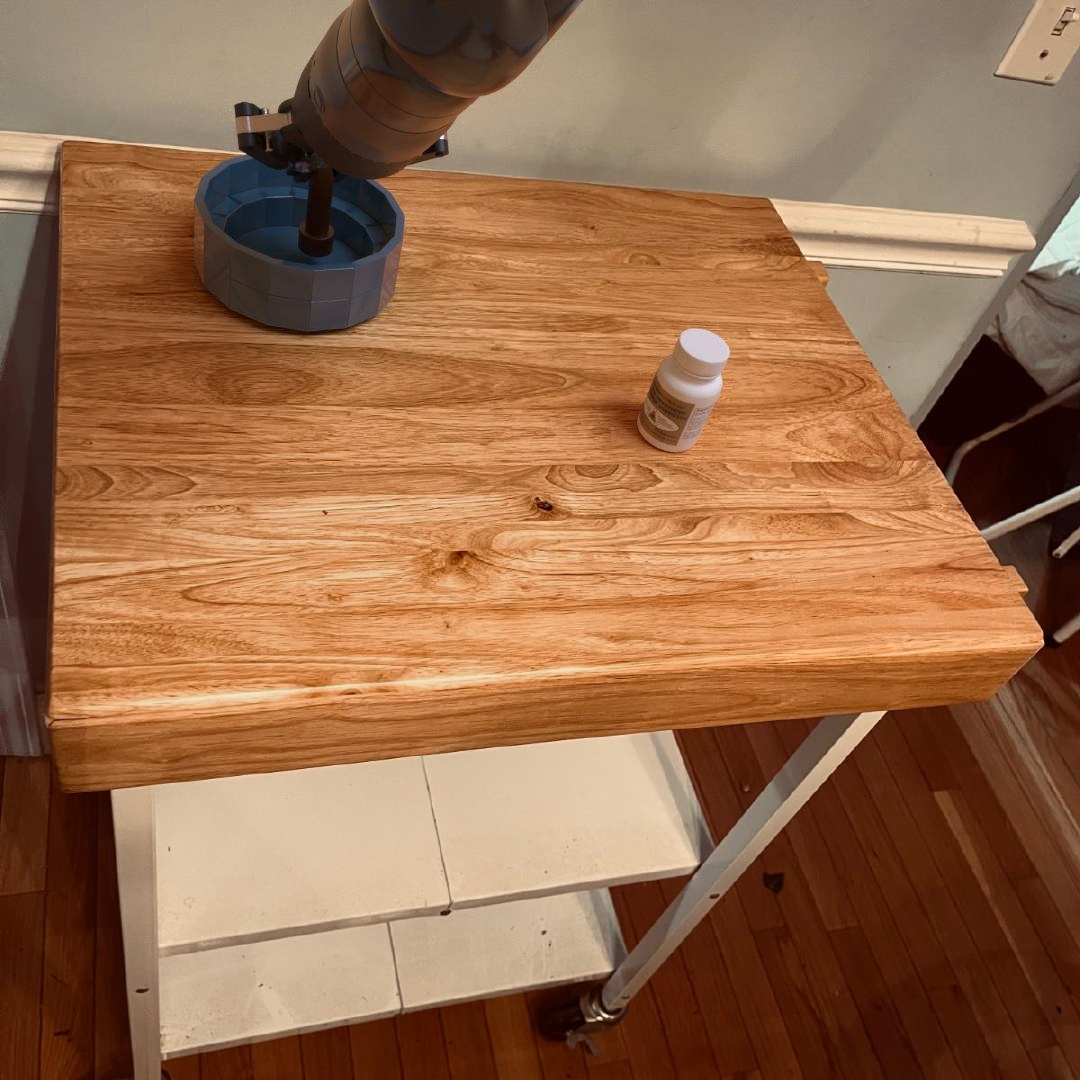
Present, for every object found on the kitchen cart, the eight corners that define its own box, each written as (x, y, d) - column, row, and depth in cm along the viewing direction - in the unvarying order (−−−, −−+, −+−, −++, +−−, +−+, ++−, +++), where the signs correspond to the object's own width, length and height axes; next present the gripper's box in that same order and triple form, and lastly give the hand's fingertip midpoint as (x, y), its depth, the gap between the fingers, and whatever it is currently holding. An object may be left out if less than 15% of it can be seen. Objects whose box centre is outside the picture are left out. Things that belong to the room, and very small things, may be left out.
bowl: (281, 363, 69) (286, 294, 65) (154, 250, 73) (152, 179, 69) (432, 298, 77) (445, 233, 73) (310, 200, 82) (316, 134, 78)
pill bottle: (623, 421, 73) (658, 332, 68) (666, 402, 76) (704, 316, 70) (665, 462, 72) (705, 375, 66) (708, 442, 74) (751, 356, 69)
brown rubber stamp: (312, 261, 73) (323, 141, 67) (290, 243, 74) (299, 122, 68) (339, 251, 75) (353, 133, 68) (317, 233, 76) (328, 114, 69)
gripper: (497, 23, 59) (406, 114, 74) (242, 2, 53) (202, 105, 69) (508, 164, 60) (415, 224, 75) (258, 158, 54) (215, 224, 70)
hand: (313, 167), depth 72 cm, fingers closed on brown rubber stamp, 1 cm apart
